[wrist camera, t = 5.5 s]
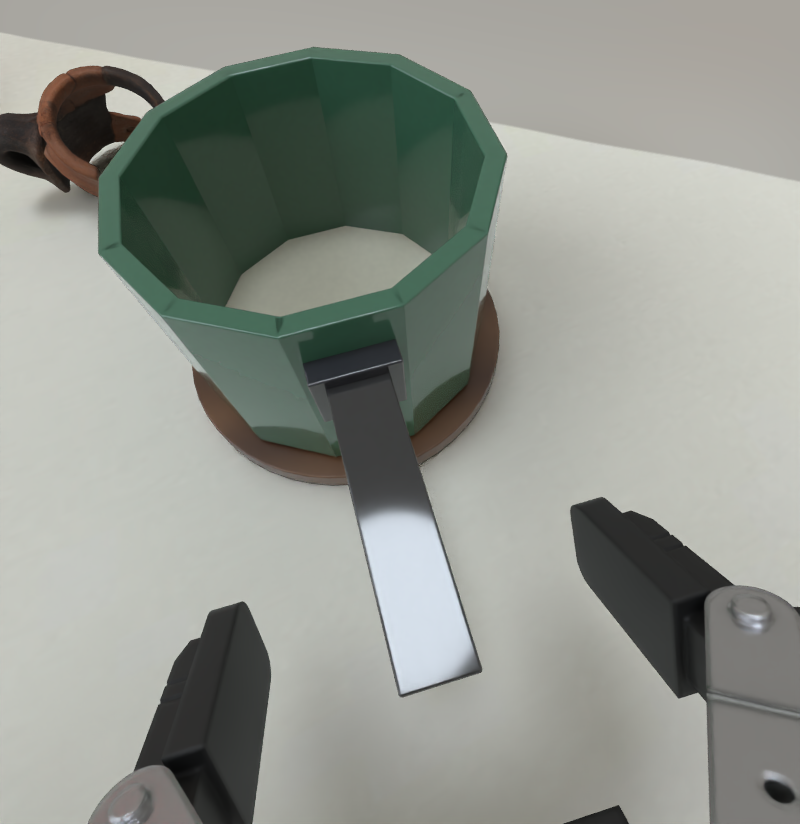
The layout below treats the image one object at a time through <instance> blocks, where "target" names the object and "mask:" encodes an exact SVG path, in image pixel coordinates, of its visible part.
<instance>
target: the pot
mask: <svg viewBox="0 0 800 824" xmlns="http://www.w3.org/2000/svg"><path fill="white" fill-rule="evenodd" d="M506 162H507V153H506V151H505V150H504V148H503V146H502V144H501V143H500V141H499V139H498V137H497V136H496V134H495V132H494V130H493V129H492V127H491V125H490V123H489V122H488V120H487V118H486V116H485V115H484V113H483V111H482V109H481V108H480V106H479V104H478V102H477V101H476V99H475V97H474V95H473V94H472V92H471V91H470V90H468V89H466V88H464V87H462V86H460V85H458V84H456V83H455V82H453V81H450V80H449V79H447V78H445V77H443V76H441V75H439V74H437V73H434V72H433V71H431V70H429V69H427V68H425V67H423V66H421V65H419V64H417V63H415V62H413V61H411V60H409V59H407V58H405V57H404V56H402V55H399V54H388V53H377V52H365V51H354V50H342V49H330V48H319V47H312V48H307V49H303V50H298V51H294V52H289V53H285V54H280V55H275V56H271V57H266V58H262V59H257V60H253V61H248V62H244V63H239V64H235V65H231V66H226V67H223V68H221V69H220V70H218V71H216V72H214V73H213V74H211V75H209V76H208V77H206V78H204V79H202V80H201V81H199V82H197V83H196V84H194V85H192V86H190V87H189V88H187V89H185V90H184V91H182V92H180V93H178V94H177V95H175V96H173V97H172V98H170V99H168V100H167V101H165V102H163V103H161V104H160V105H158V106H156V107H155V108H153V109H151V110H149V111H148V112H147V113H146V114H145V115H144V117H143V118H142V119H141V121H140V122H139V123H138V125H137V126H136V128H135V129H134V130H133V132H132V133H131V134H130V136H129V137H128V138H127V140H126V141H125V143H124V144H123V145H122V147H121V148H120V149H119V151H118V152H117V153H116V155H115V156H114V157H113V159H112V160H111V162H110V163H109V164H108V166H107V167H106V168H105V170H104V171H103V172H102V174H101V175H100V177H99V178H98V253H99V255H100V257H101V258H102V259H103V260H104V261H105V262H106V264H107V265H108V266H109V267H110V268H111V270H112V271H113V272H114V273H115V274H116V276H117V277H118V278H119V279H120V280H121V281H122V283H123V284H124V285H125V286H126V287H127V289H128V290H129V291H130V292H131V293H132V295H133V296H134V297H135V298H136V299H137V300H138V302H139V303H140V304H141V305H142V306H143V308H144V309H145V310H146V311H147V312H148V314H149V315H150V316H151V317H152V318H153V319H154V321H155V322H156V323H157V324H158V325H159V327H160V328H161V329H162V330H163V331H164V332H165V334H166V335H167V336H168V337H169V338H170V340H171V341H172V342H173V343H174V344H175V346H176V347H177V348H178V349H179V350H180V351H181V353H182V354H183V355H184V356H185V357H186V359H187V360H188V361H189V362H190V363H191V365H192V366H193V367H194V368H195V369H196V370H197V372H198V373H199V374H200V375H201V376H202V378H203V379H204V380H205V381H206V382H207V384H208V385H209V386H210V387H211V388H212V389H213V391H214V392H215V393H216V394H217V395H218V396H219V397H220V398H221V399H222V400H223V401H224V402H225V403H226V404H227V405H228V406H229V407H230V408H231V409H232V410H233V411H234V412H235V413H236V415H237V416H238V417H239V418H240V419H241V420H242V421H243V422H244V423H245V424H246V425H247V426H248V427H249V428H250V429H251V430H252V431H253V432H254V433H255V434H256V435H257V436H258V437H259V438H260V439H261V440H265V441H269V442H274V443H278V444H283V445H287V446H291V447H296V448H300V449H305V450H309V451H313V452H318V453H322V454H327V455H331V456H335V457H337V456H342V460H343V464H344V469H345V473H346V477H347V481H348V485H349V490H350V494H351V498H352V502H353V506H354V510H355V515H356V519H357V523H358V527H359V531H360V536H361V540H362V544H363V548H364V552H365V556H366V561H367V565H368V569H369V573H370V577H371V582H372V586H373V590H374V594H375V598H376V602H377V607H378V611H379V615H380V619H381V623H382V628H383V632H384V636H385V640H386V644H387V649H388V653H389V657H390V661H391V665H392V669H393V674H394V678H395V682H396V686H397V690H398V695H399V696H400V697H406V696H409V695H412V694H415V693H418V692H421V691H425V690H428V689H431V688H434V687H437V686H440V685H444V684H447V683H450V682H453V681H456V680H460V679H463V678H466V677H469V676H472V675H475V674H479V673H481V672H482V666H481V663H480V660H479V656H478V653H477V650H476V647H475V644H474V640H473V637H472V634H471V631H470V628H469V624H468V621H467V618H466V615H465V612H464V608H463V605H462V602H461V599H460V596H459V592H458V589H457V586H456V583H455V580H454V576H453V573H452V570H451V567H450V564H449V560H448V557H447V554H446V551H445V548H444V544H443V541H442V538H441V535H440V532H439V528H438V525H437V522H436V519H435V516H434V512H433V509H432V506H431V503H430V500H429V496H428V493H427V490H426V487H425V484H424V480H423V477H422V474H421V471H420V468H419V464H418V461H417V458H416V455H415V452H414V448H413V445H412V442H411V439H410V436H412V435H415V434H416V433H417V432H418V431H419V430H420V429H421V428H422V427H423V426H424V425H425V424H426V423H427V422H428V421H429V420H430V419H431V418H432V417H433V416H434V415H436V414H437V413H438V412H439V411H440V410H441V409H442V408H443V407H444V406H445V405H446V404H447V403H448V402H449V401H450V400H451V399H452V398H453V397H454V396H455V395H456V394H457V393H458V392H459V391H460V390H461V389H462V388H463V387H464V386H465V385H466V384H467V383H468V381H469V377H470V372H471V368H472V364H473V359H474V355H475V350H476V346H477V341H478V337H479V333H480V328H481V324H482V318H483V312H484V305H485V299H486V292H487V286H488V279H489V273H490V266H491V260H492V253H493V247H494V240H495V234H496V227H497V220H498V214H499V207H500V201H501V194H502V188H503V181H504V175H505V168H506Z"/></svg>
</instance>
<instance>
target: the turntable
mask: <svg viewBox="0 0 800 824" xmlns="http://www.w3.org/2000/svg"><path fill="white" fill-rule="evenodd" d="M498 351H499V325H498V318H497V313H496V310H495V307H494V303H493V300H492V297H491V295H490V293H489V291H488V289H487V292H486V299H485V305H484V312H483V318H482V324H481V328H480V333H479V337H478V341H477V346H476V350H475V355H474V359H473V364H472V368H471V372H470V377H469V381H468V383H467V384H466V385H465V386H464V387H463V388H462V389H461V390H460V391H459V392H458V393H457V394H456V395H455V396H454V397H453V398H452V399H451V400H450V401H449V402H448V403H447V404H446V405H445V406H444V407H443V408H442V409H441V410H440V411H439V412H438V413H437V414H436V415H434V416H433V417H432V418H431V419H430V420H429V421H428V422H427V423H426V424H425V425H424V426H423V427H422V428H421V429H420V430H419V431H418V432H417V433H416V434H415V435H412V436H410V439H411V442H412V445H413V448H414V452H415V455H416V458H417V461H418V464H421V463H422V462H424V461H426V460H427V459H429V458H430V457H432V456H434V455H435V454H437V453H438V452H440V451H441V450H442V449H443V448H445V447H446V446H447V445H448V444H449V443H451V442H452V441H453V440H454V439H455V438H456V437H457V436H458V435H459V434H460V433H461V432H462V431H463V430H464V429H465V428H466V427H467V426H468V424H469V423H470V421H471V420H472V419H473V417H474V416H475V414H476V413H477V412H478V410H479V409H480V407H481V405H482V403H483V401H484V399H485V397H486V395H487V393H488V391H489V388H490V385H491V382H492V379H493V376H494V372H495V368H496V362H497V357H498ZM192 370H193V377H194V384H195V387H196V390H197V394H198V397H199V400H200V402H201V404H202V406H203V408H204V410H205V412H206V414H207V416H208V417H209V419H210V420H211V422H212V423H213V424H214V426H215V427H216V429H217V430H218V431H219V432H220V433H221V434H222V435H223V436H224V437H225V438H226V439H227V440H228V441H229V442H230V443H231V444H232V445H233V446H234V447H235V448H236V449H237V450H238V451H239V452H240V453H241V454H243V455H244V456H246V457H247V458H248V459H250V460H251V461H252V462H254V463H256V464H257V465H259V466H261V467H263V468H265V469H267V470H269V471H271V472H273V473H276V474H279V475H281V476H284V477H287V478H290V479H294V480H298V481H303V482H308V483H314V484H326V485H345V484H348V481H347V477H346V473H345V469H344V464H343V460H342V456H337V457H335V456H331V455H327V454H322V453H318V452H313V451H309V450H305V449H300V448H296V447H291V446H287V445H283V444H278V443H274V442H269V441H265V440H261V439H260V438H259V437H258V436H257V435H256V434H255V433H254V432H253V431H252V430H251V429H250V428H249V427H248V426H247V425H246V424H245V423H244V422H243V421H242V420H241V419H240V418H239V417H238V416H237V415H236V413H235V412H234V411H233V410H232V409H231V408H230V407H229V406H228V405H227V404H226V403H225V402H224V401H223V400H222V399H221V398H220V397H219V396H218V395H217V394H216V393H215V392H214V391H213V389H212V388H211V387H210V386H209V385H208V384H207V382H206V381H205V380H204V379H203V378H202V376H201V375H200V374H199V373H198V372H197V370H196V369H195V368H194V367H193V366H192Z"/></svg>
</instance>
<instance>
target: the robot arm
mask: <svg viewBox="0 0 800 824" xmlns="http://www.w3.org/2000/svg"><path fill="white" fill-rule="evenodd" d="M570 514H571V521H572V529H573V536H574V543H575V550H576V557H577V562H578V565H579V568H580V571H581V573H582V575H583V577H584V579H585V581H586V582H587V584H588V585H589V587H590V588H591V589H592V590H593V592H594V593H595V594H596V595H597V597H598V598H599V599H600V600H601V602H602V603H603V604H604V605H605V607H606V608H607V609H608V610H609V612H610V613H611V614H612V615H613V617H614V618H615V619H616V621H617V622H618V623H619V624H620V626H621V627H622V628H623V629H624V631H625V632H626V633H627V634H628V636H629V637H630V638H631V639H632V641H633V642H634V643H635V644H636V646H637V647H638V648H639V649H640V651H641V652H642V653H643V654H644V656H645V657H646V658H647V659H648V661H649V662H650V663H651V665H652V666H653V667H654V668H655V670H656V671H657V672H658V673H659V675H660V676H661V677H662V678H663V680H664V681H665V682H666V683H667V685H668V686H669V687H670V688H671V690H672V691H673V692H674V693H675V695H676V696H677V697H678V698H682V697H686V696H689V695H692V694H695V693H699V694H700V695H701V696H702V697H703V699H704V700H705V701H706V702H707V733H708V770H709V807H710V824H800V607H792V606H791V605H790V604H789V603H788V602H787V601H785V600H784V599H782V598H781V597H779V596H777V595H775V594H773V593H771V592H768V591H765V590H763V589H759V588H755V587H749V586H740V585H739V586H735V585H734V584H732V583H731V582H730V581H729V580H727V579H726V578H725V577H724V576H722V575H721V574H720V573H719V572H718V571H716V570H715V569H714V568H713V567H711V566H710V565H709V564H708V563H706V562H705V561H704V560H703V559H701V558H700V557H699V556H698V555H696V554H695V553H694V552H693V551H692V550H690V549H689V548H688V547H687V546H683V544H682V542H680V541H679V540H678V539H677V538H675V537H674V536H673V535H670V534H669V532H668V531H667V530H666V529H664V528H663V527H662V526H661V525H659V524H658V523H657V522H656V521H654V520H653V519H651V518H648V517H646V516H643V515H641V514H638V513H636V512H633V511H628V512H625V513H621V512H620V511H619V510H618V509H617V508H616V507H614V506H613V505H612V504H611V503H610V502H609V501H608V500H606V499H605V498H603V497H600V498H596V499H593V500H589V501H586V502H583V503H579V504H576V505H572V506H571V510H570ZM270 682H271V667H270V661H269V656H268V653H267V650H266V647H265V645H264V643H263V640H262V638H261V636H260V633H259V631H258V629H257V626H256V624H255V622H254V619H253V617H252V615H251V612H250V610H249V608H248V606H247V604H246V603H245V602H240V603H236V604H233V605H229V606H226V607H223V608H219V609H216V610H212V611H210V612H209V614H208V616H207V620H206V623H205V626H204V629H203V632H202V635H201V638H198V639H194V640H191V641H190V642H189V643H188V644H187V646H186V647H185V648H184V650H183V651H182V652H181V654H180V655H179V656H178V658H177V659H176V660H175V662H174V664H173V667H172V670H171V672H170V675H169V678H168V680H167V686H166V687H165V689H164V691H163V694H162V697H161V699H160V701H161V704H159V705H158V707H157V710H156V713H155V715H154V718H153V721H152V724H151V726H150V729H149V732H148V734H147V737H146V740H145V742H144V745H143V748H142V750H141V753H140V756H139V759H138V761H137V764H136V767H135V769H134V772H133V773H131V774H130V775H128V776H126V777H125V778H124V779H122V780H121V781H120V782H119V783H117V784H116V785H115V786H114V787H113V788H112V789H111V790H110V791H109V792H108V793H107V794H106V795H105V796H104V798H103V799H102V800H101V801H100V803H99V804H98V806H97V807H96V809H95V810H94V812H93V814H92V815H91V817H90V819H89V822H88V824H252V822H253V814H254V807H255V799H256V791H257V783H258V775H259V768H260V760H261V752H262V744H263V737H264V729H265V721H266V713H267V706H268V698H269V690H270ZM564 824H629V823H628V821H627V819H626V817H625V816H624V814H623V812H622V810H621V808H620V806H619V805H618V806H615V807H612V808H609V809H606V810H603V811H600V812H597V813H594V814H591V815H588V816H585V817H582V818H579V819H576V820H573V821H570V822H567V823H564Z"/></svg>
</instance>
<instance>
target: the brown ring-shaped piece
mask: <svg viewBox="0 0 800 824" xmlns="http://www.w3.org/2000/svg"><path fill="white" fill-rule="evenodd" d="M115 86H118V87H122V88H125V89H128V90H130V91H132V92H134V93H136V94H138V95H139V96H141V97H142V98H144V99H145V100H146V101H147V102H148V103H149V104H150V105H151V106H152V107H153V108H155V107H156V106H158V105H160V104H161V103H163V102H165V101H164V100H163V99H162V97H161V95H160V94H159V93H158V92H157V91H156V90H155V89H154V88H153V86H152V85H151V84H149V83H148V82H147V81H146V80H144V79H143V78H142V77H140V76H138V75H136V74H133V73H131V72H129V71H126V70H123V69H119V68H116V67H111V66H104V67H100V66H85V67H78V68H75V69H71V70H69V71H68V72H67V73H66V74H64V73H63V74H60V75H59V76H57V77H56V78H55V79H54V80H53V81H52V82H50V83H49V85H48V86H47V87H46V88H45V90H44V92H43V94H42V96H41V100H40V102H39V109H38V113H31V114H14V113H6V114H1V115H0V164H2V165H3V166H5V167H7V168H10V169H12V170H15V171H17V172H20V173H23V174H26V175H30V176H33V177H38V178H42V179H45V180H47V181H49V182H51V183H52V184H54V185H55V186H57V187H58V188H59V189H60V190H62V191H64V192H65V193H67V192H69V191H70V180H71V181H72V182H74V183H75V184H76V185H77V186H79V187H80V188H82V189H83V190H85V191H87V192H88V193H90V194H92V195H95V196H97V197H98V178H99V177H100V175H101V174H100V172H99V170H98V168H97V167H96V166H94V165H92V164H90V163H89V162H90V160H91V158H92V157H93V156H94V155H95V154H96V153H98V152H99V151H100V150H101V149H102V148H103V147H105V146H107V145H109V144H111V143H114V142H125V141H126V140H127V138H128V137H129V136H130V134H131V133H132V132H133V130H134V129H135V128H136V126H137V125H138V123H139V122H140V121H141V119H140V118H139V117H136V116H131V115H123V114H120V113H116V112H109V111H108V109H107V107H106V96H105V93H108V92H110V91H112V90H113V89H114V87H115Z"/></svg>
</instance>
